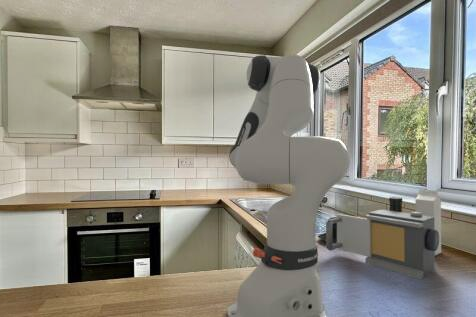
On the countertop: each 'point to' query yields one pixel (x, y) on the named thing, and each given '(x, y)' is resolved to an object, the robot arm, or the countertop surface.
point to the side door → (350, 234)
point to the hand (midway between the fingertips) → (303, 168)
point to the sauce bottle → (395, 204)
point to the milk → (430, 209)
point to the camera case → (403, 242)
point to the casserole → (334, 233)
